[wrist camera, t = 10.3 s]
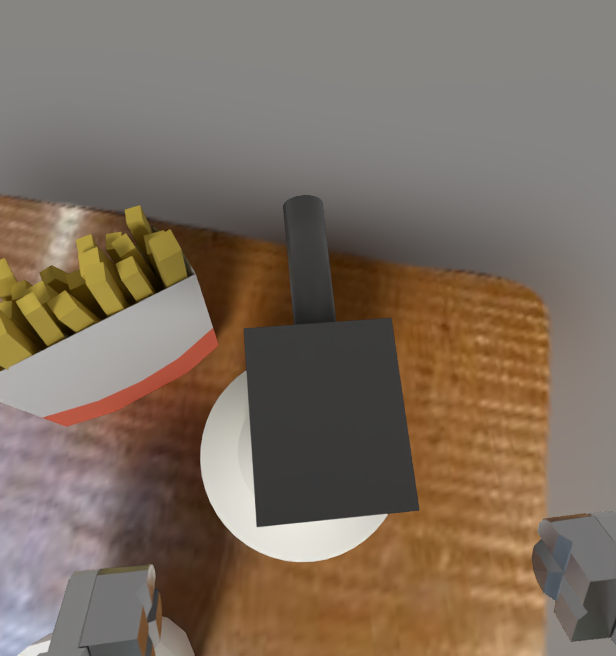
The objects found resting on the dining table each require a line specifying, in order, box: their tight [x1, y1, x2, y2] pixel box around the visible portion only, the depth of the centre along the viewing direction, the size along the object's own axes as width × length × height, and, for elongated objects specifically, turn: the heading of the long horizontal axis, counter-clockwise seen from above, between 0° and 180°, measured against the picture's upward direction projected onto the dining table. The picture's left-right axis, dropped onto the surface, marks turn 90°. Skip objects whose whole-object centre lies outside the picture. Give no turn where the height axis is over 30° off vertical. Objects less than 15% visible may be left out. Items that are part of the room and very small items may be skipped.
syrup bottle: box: [200, 371, 388, 562], centre depth 28 cm, size 9×9×22 cm
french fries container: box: [0, 205, 218, 426], centre depth 31 cm, size 5×11×18 cm, turn 121°
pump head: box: [244, 195, 419, 527], centre depth 19 cm, size 4×9×9 cm, turn 6°
